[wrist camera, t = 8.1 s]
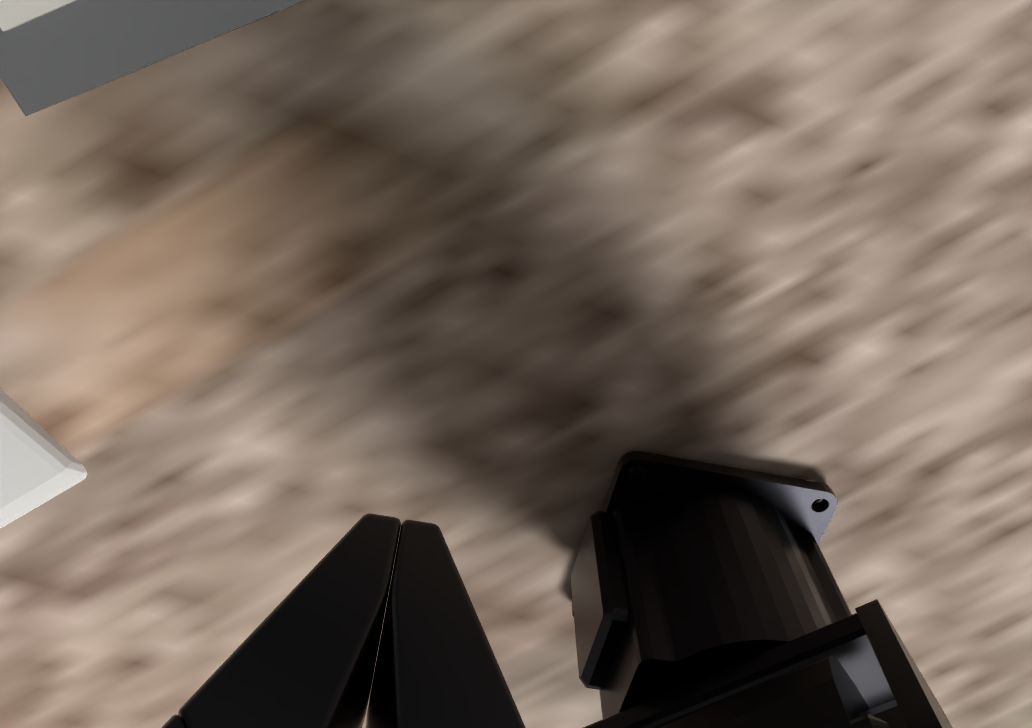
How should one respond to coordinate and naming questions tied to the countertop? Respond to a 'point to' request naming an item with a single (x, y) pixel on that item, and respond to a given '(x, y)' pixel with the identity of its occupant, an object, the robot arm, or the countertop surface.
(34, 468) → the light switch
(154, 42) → the grey stand base
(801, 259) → the countertop surface
